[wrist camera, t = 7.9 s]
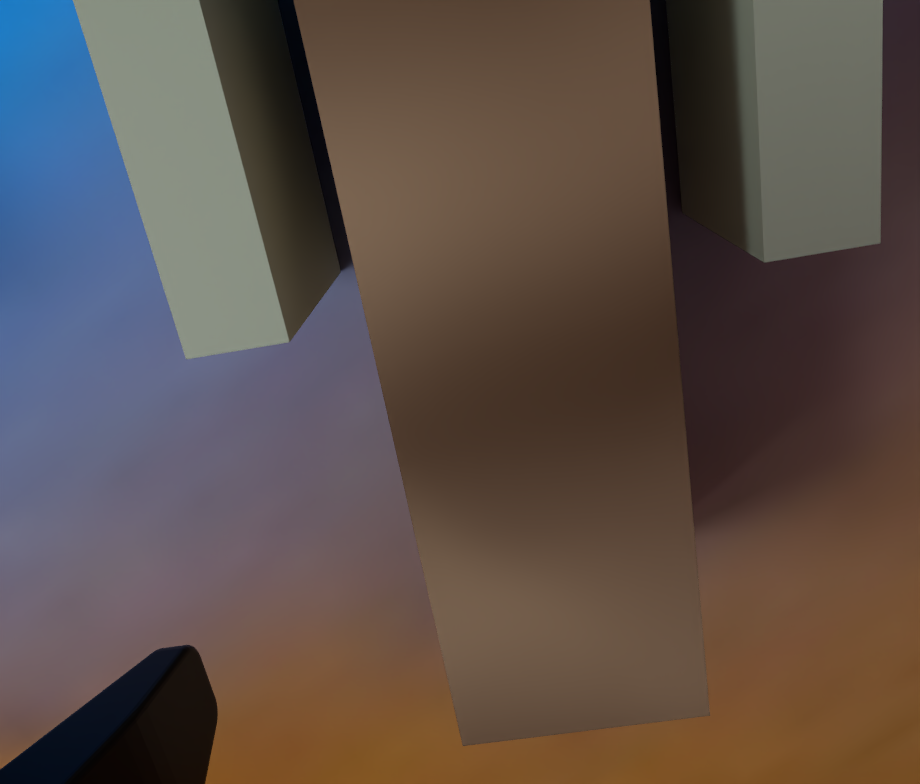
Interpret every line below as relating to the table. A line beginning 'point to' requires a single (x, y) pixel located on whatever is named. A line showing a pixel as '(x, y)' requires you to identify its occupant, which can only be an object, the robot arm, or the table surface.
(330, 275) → the posts
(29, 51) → the table surface
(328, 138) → the rail
